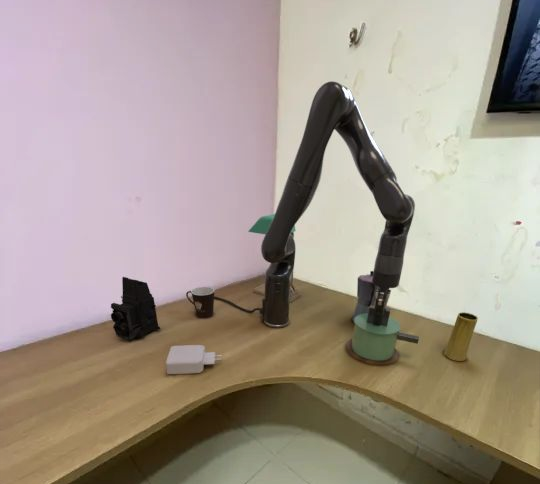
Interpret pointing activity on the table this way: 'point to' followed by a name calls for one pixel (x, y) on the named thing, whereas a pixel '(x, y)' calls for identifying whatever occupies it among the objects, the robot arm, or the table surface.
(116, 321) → the camera
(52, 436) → the table surface
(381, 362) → the trivet
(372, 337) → the pot
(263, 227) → the banker's lamp
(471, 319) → the vase
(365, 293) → the moka pot
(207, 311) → the coffee mug
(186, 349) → the charger
